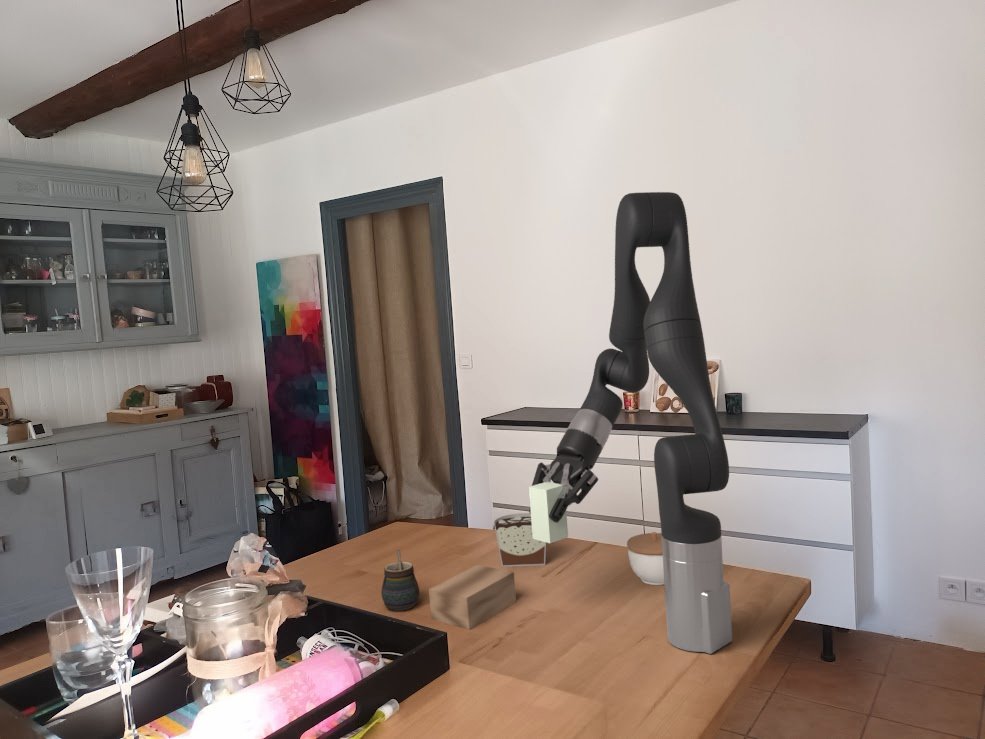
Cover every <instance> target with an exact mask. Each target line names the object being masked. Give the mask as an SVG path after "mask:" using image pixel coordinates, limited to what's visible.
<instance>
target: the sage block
mask: <svg viewBox="0 0 985 739" xmlns="http://www.w3.org/2000/svg"><path fill="white" fill-rule="evenodd" d="M562 489H563V485H561V484H557V483H554V482H552V481H551V482H547V483H546V482H544V483H541V484H537V485H534V486H532V485H530V486H528V492H529V493H528V495H529V504H530V505H529V509H531V523H532V536H533V539H536V540H539V541H543V542H546V544H552V543H555V542H558V541H561V540H565V539H566V538H569V532H568V531H569V530H568V529H569V528H568V516H567V510H566V511H565V513H564V515H563V517H562V518H561V519H560V520H559V522H554V521H553V520H551V519H550V518H549V514H550V512H551V510H552V508H553V506H554V505H555V503H556V501H557V499H560V492H561V491H562Z"/></svg>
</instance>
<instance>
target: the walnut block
mask: <svg viewBox="0 0 985 739" xmlns="http://www.w3.org/2000/svg"><path fill="white" fill-rule="evenodd" d="M515 583H516V582H515V572H514V571H512V570H511V571H510V570H507V569H506V570H505V569H502V568H501V569H500V568H496V567H490V566H484V565H479V564H474V565H473V566H472V567H470V568H468V569H465V570H464V571H461V573H458V574H456V575H454V576H452V577H450V578H448V579H446V580H444V581H442V582H440V583H438V584H436V585H434V586H432V587H430V588H428V593H429V594H428V597H429V606H430V607H429V609H430V619H431V621H434V622H439V623H441V624H446V625H451V626H454V627H457V628H461V629H465V630H471V629H473V628H476V627H477V626H478V625H479V624H481V623H483V622H485V621H486V620H488V619H489V618H491V617H494V616H495V615H496V614H498V613H499V612H501V611H502V610H505V609H506V608H507V607H509V606H511V605H512V604H514V603H516V602H517V595H516V584H515Z"/></svg>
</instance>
